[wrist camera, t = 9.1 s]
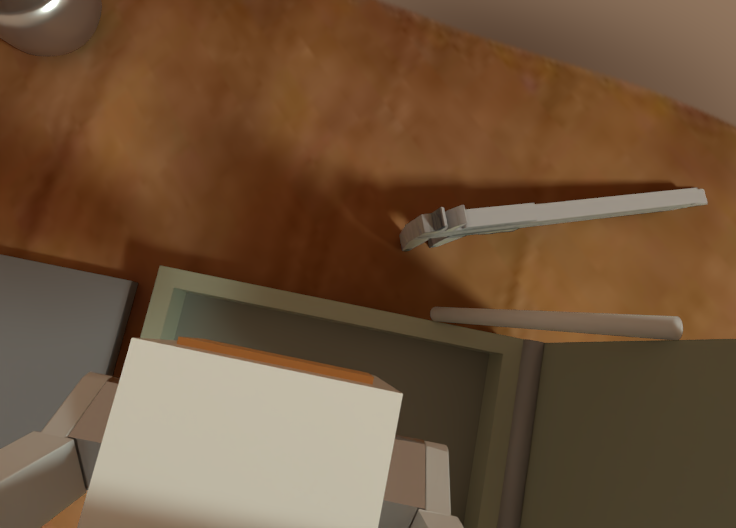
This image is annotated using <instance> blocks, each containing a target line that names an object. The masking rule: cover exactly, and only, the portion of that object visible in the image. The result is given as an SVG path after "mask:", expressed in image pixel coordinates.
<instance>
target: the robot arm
mask: <svg viewBox="0 0 736 528" xmlns="http://www.w3.org/2000/svg"><path fill="white" fill-rule="evenodd" d="M119 380H120V378H117V377H113V376H109V375H104V374H99V373H94V372H89V373H88V374H86V375H85V376H84V377H82V379H81V380H80V381H79V383H78V384H77V385H76V386H75V388H74V389H73V390H72V392H71V393H70V394H69V396H68V397H67V398H66V400H65V401H64V402H63V404H62V405H61V406H60V408H59V409H58V410H57V411H56V413H55V414H54V415H53V417H52V418H51V419H50V421H49V422H48V423H47V425H46V426H45V427H44V429H43V430H42V431H41V432H37V431H33V432H31V433H29V434H27V435H25V436H24V437H22V438H20V439H18V440H16V441H14V442H12V443H11V444H9V445H7V446H5V447H3V448H1V449H0V528H41V527H42V526H43V525H44V524H46V523H47V522H48V521H50V520H51V519H52V518H54V517H55V516H56V515H57V514H59V513H60V512H61V511H63V510H64V509H65V508H67V507H68V506H69V505H70V504H72V503H73V502H74V501H76V500H77V499H78V498H80V497H81V496H82V495H83V494H85V493H86V490H88V488H89V485H90V481H91V478H92V474H93V471H94V467H95V464H96V460H97V457H98V453H99V450H100V446H101V443H102V439H103V436H104V433H105V429H106V426H107V422H108V419H109V415H110V412H111V408H112V405H113V401H114V398H115V394H116V391H117V387H118V384H119ZM378 528H464V527H463V525H462V523H461V522H460V520H459V518H458V517H456V516H452V515H451V503H450V478H449V452H448V448H447V445H444V444H439V443H434V442H429V441H424V440H422V439H417V438H411V437H406V436H401V435H396V434H395V440H394V445H393V450H392V456H391V461H390V466H389V472H388V477H387V482H386V488H385V493H384V498H383V504H382V509H381V514H380V520H379V525H378Z"/></svg>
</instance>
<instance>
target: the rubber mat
mask: <svg viewBox="0 0 736 528" xmlns="http://www.w3.org/2000/svg"><path fill="white" fill-rule="evenodd" d="M137 286H138V283H136V282H133V281H130V280H125V279H120V278H115V277H110V276H105V275H100V274H95V273H90V272H85V271H80V270H75V269H70V268H65V267H60V266H55V265H50V264H45V263H41V262H36V261H31V260H26V259H21V258H16V257H11V256H6V255H1V254H0V449H1V448H3V447H5V446H7V445H9V444H11V443H12V442H14V441H16V440H18V439H20V438H22V437H24V436H25V435H27V434H29V433H31V432H33V431H37V432H41V431H42V430H43V429H44V427H45V426H46V425H47V423H48V422H49V421H50V419H51V418H52V417H53V415H54V414H55V413H56V411H57V410H58V409H59V408H60V406H61V405H62V404H63V402H64V401H65V400H66V398H67V397H68V396H69V394H70V393H71V392H72V390H73V389H74V388H75V386H76V385H77V384H78V383H79V381H80V380H81V379H82V377H84V376H85V375H86V374H88V373H89V372H94V373H99V374H104V375H109V376H113V372H114V368H115V365H116V361H117V358H118V354H119V350H120V347H121V343H122V340H123V336H124V332H125V329H126V325H127V322H128V318H129V315H130V311H131V307H132V304H133V300H134V297H135V293H136V289H137Z"/></svg>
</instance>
